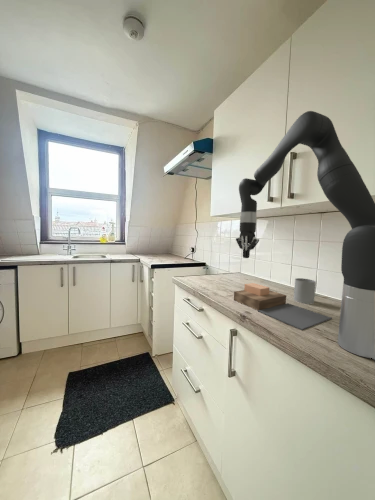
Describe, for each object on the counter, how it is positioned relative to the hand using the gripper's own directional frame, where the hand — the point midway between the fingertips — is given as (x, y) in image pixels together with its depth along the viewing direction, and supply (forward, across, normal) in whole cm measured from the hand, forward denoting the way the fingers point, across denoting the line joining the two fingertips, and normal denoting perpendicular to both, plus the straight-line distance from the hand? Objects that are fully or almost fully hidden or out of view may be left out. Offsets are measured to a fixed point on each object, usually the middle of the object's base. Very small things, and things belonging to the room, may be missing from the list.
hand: (245, 257), depth 96 cm
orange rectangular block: (+15, -8, 0) cm, 17 cm away
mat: (+19, -26, 0) cm, 32 cm away
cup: (+19, -18, -22) cm, 34 cm away
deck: (+19, -10, 0) cm, 21 cm away
